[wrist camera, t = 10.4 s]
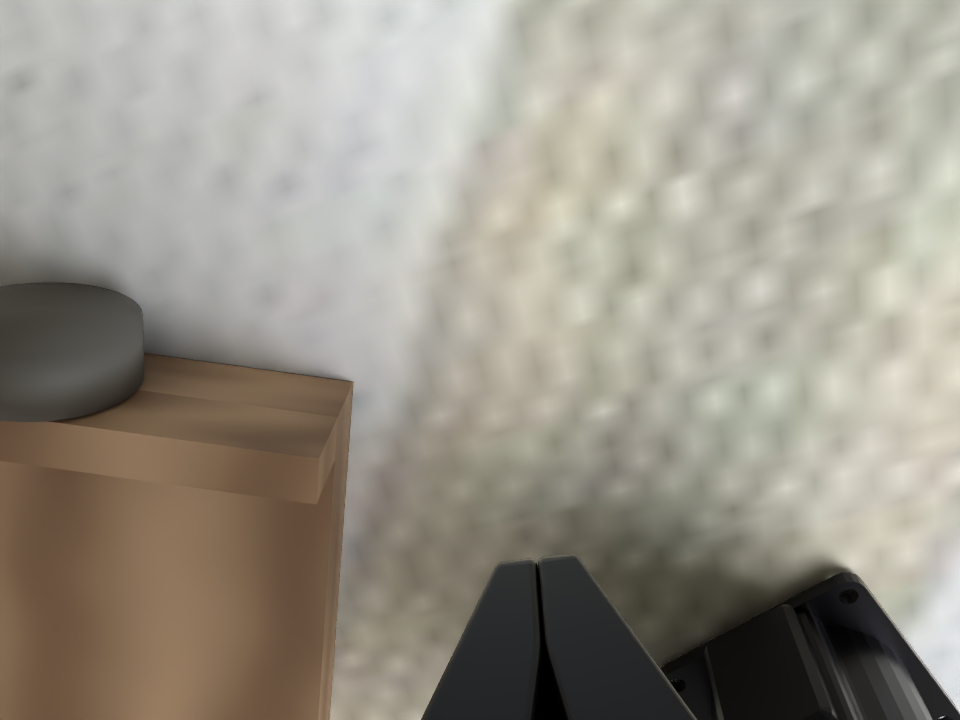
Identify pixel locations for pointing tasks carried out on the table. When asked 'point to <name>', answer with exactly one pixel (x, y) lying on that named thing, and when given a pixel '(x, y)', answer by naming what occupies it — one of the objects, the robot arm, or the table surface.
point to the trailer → (161, 523)
